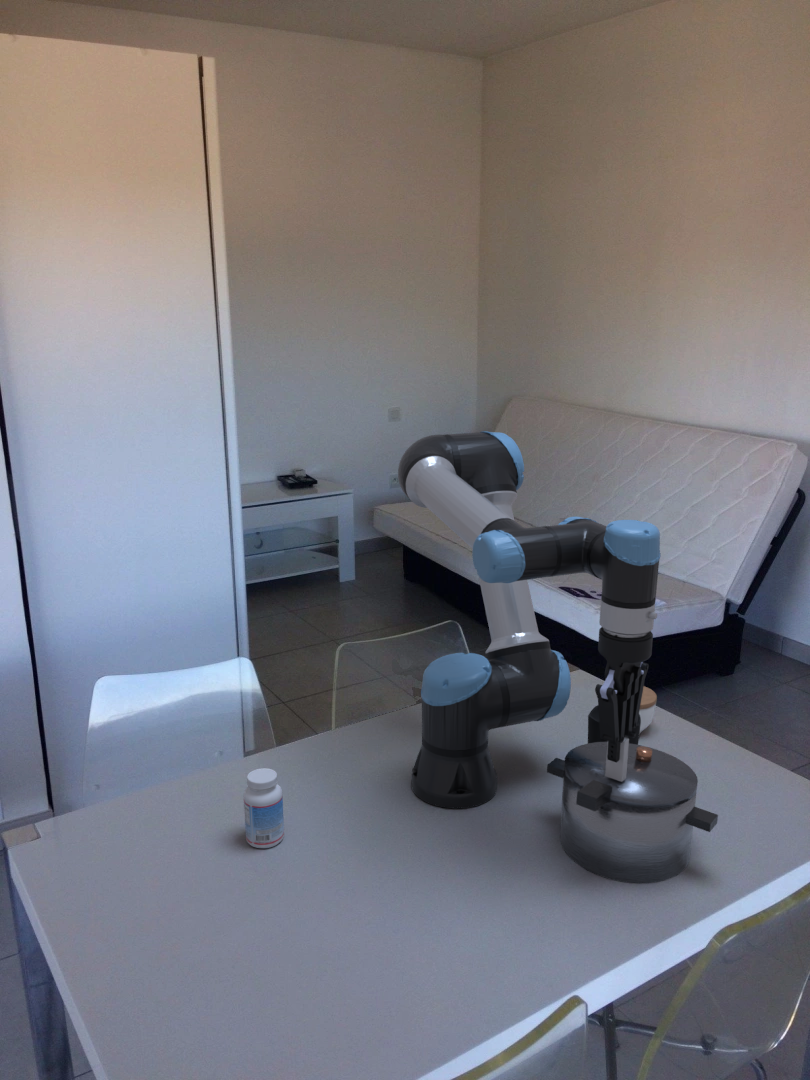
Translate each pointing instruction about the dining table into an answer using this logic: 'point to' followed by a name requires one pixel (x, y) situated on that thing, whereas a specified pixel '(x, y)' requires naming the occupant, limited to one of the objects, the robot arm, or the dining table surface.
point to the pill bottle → (263, 809)
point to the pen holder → (595, 728)
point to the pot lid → (630, 778)
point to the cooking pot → (628, 835)
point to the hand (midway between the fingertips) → (615, 776)
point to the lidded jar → (647, 707)
